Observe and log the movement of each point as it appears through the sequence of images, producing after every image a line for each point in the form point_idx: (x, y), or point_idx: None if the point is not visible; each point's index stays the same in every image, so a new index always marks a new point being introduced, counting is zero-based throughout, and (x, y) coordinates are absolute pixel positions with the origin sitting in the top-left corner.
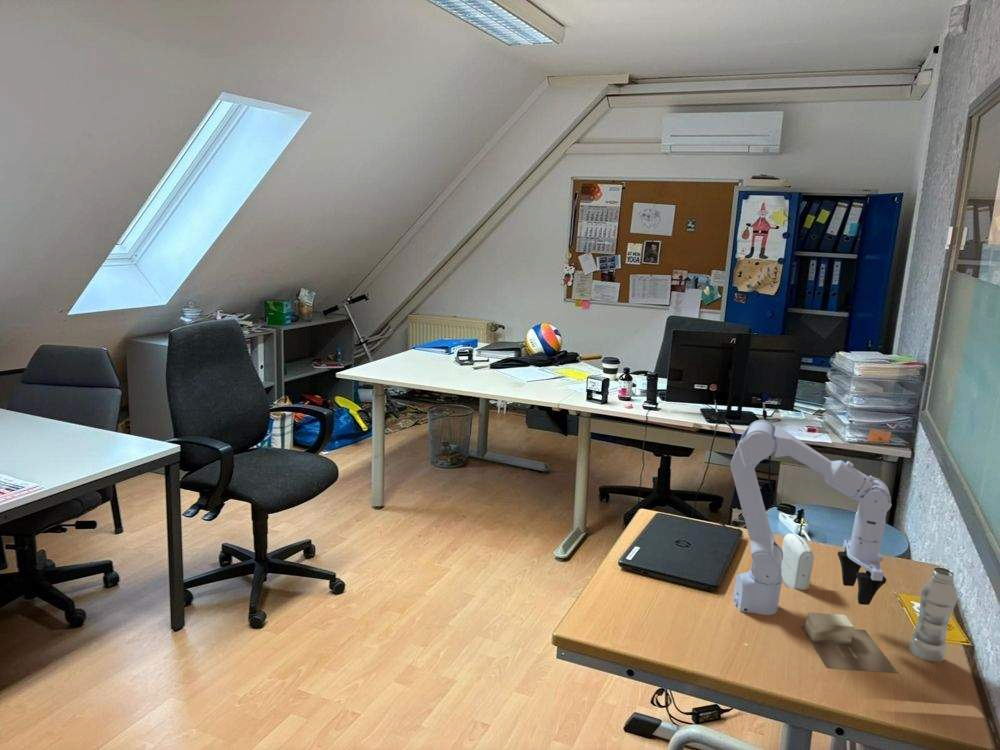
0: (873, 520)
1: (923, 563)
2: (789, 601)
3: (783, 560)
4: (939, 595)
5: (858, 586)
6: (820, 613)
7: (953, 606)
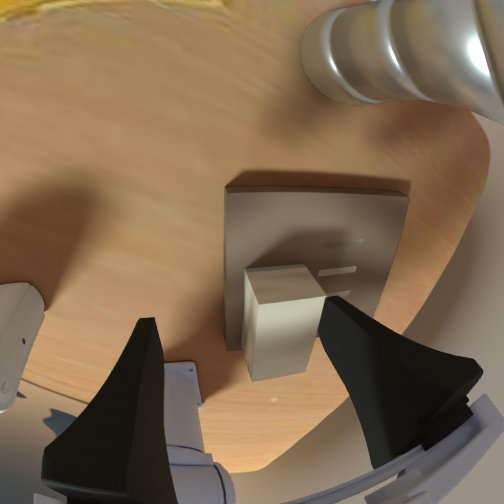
0: None
1: None
2: (86, 329)
3: None
4: None
5: (355, 402)
6: (255, 360)
7: None
